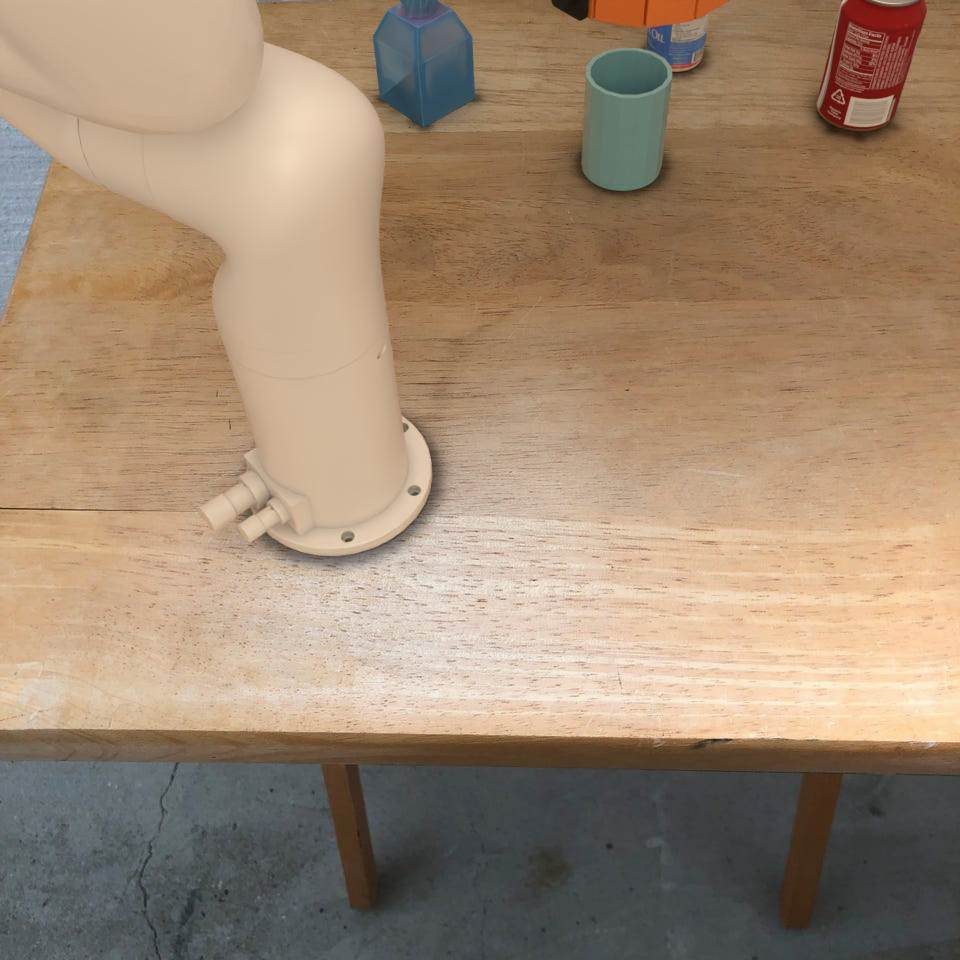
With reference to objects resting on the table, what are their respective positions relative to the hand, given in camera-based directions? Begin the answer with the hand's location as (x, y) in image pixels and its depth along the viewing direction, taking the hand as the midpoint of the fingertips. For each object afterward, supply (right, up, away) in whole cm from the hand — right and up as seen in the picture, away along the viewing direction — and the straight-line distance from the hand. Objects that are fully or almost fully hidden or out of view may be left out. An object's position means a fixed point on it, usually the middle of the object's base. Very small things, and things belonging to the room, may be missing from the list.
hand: (585, 1), depth 77 cm
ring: (+4, +3, +2) cm, 6 cm away
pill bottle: (+11, +6, +26) cm, 29 cm away
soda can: (+26, -1, +20) cm, 33 cm away
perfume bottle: (-12, +1, +24) cm, 27 cm away
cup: (+5, -7, +17) cm, 19 cm away
